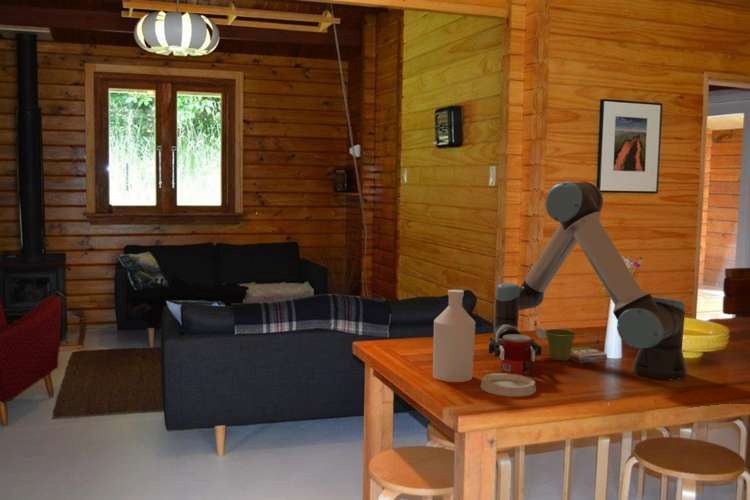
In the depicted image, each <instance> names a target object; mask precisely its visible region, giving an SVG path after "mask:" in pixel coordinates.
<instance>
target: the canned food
mask: <svg viewBox="0 0 750 500" xmlns="http://www.w3.org/2000/svg"><path fill="white" fill-rule="evenodd" d="M531 339H532V337H530V336H528V335H525V334H521V335H518V334H508V335H504V336H503V349H504V360H501V373H508V374H518V375H522V376H526V377H529V374H530V366H531V365H530V363H531V358H530V349H531Z"/></svg>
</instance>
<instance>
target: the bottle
mask: <svg viewBox="0 0 750 500" xmlns="http://www.w3.org/2000/svg"><path fill="white" fill-rule="evenodd" d="M464 292H465V291H464V290H461V289H448V290H447V296H448V306H446V308H445V309H444V310H443V311H442V312H441V313H440V314H439V315H438V316H436V318H435V319H434V320H433V344H432V345H433V354H432V355H433V356H432V377H433V378H434V379H436V380H437V381H438V380H439V381H443V382H448V383H449V382H450V383H464V382H468V381H471V380H472V379H473V372H474V354H475V353H474V352H475V338H476V321H475V319H473V318H472V316H471V315H469V313H468V312H467V311H466V309H465V308H464V307H463V299H464V296H465V295H464V294H465V293H464Z"/></svg>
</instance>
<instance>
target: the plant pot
mask: <svg viewBox="0 0 750 500" xmlns="http://www.w3.org/2000/svg"><path fill="white" fill-rule="evenodd" d="M569 330H570V329H569ZM569 330H567V329H562V328H561V329H560V328H558V329H557V328H556V329H555V328H554V329H547V330H545V331H546V334H547V335H546V338H547V342H548V353H549V359H550V360H553V361H562V362H564V361H569V360H570V357H571V352H572V351H571V350H572V347H573V346H572V345H573V343H574V338H575V337H576V336H577V335H576V334H577V333H576V331H574V330H571V331H569Z"/></svg>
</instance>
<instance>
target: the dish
mask: <svg viewBox="0 0 750 500" xmlns="http://www.w3.org/2000/svg"><path fill="white" fill-rule="evenodd" d="M480 389H481V390H482V391H483V392H486V393H487V394H491V395H495V396H499V397H508V398H509V397H511V398H512V397H513V398H520V397H530V396H532V395H535V394H536V392H537V387H536V381H535V380H534V379H532V378H531V377H529V376H522V375H518V374H508V373H502V372H501V373H499V372H498V373H489V374H485V375H483V377H482V378H481V382H480Z"/></svg>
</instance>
